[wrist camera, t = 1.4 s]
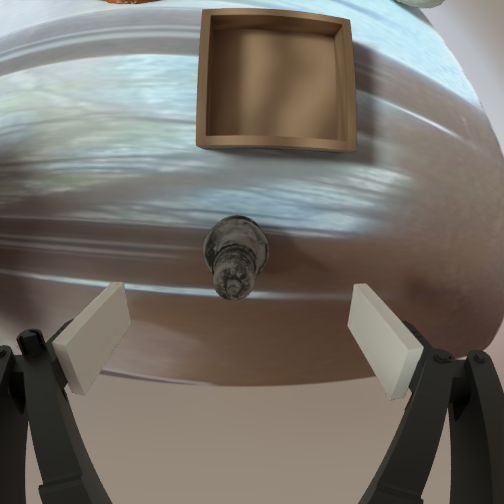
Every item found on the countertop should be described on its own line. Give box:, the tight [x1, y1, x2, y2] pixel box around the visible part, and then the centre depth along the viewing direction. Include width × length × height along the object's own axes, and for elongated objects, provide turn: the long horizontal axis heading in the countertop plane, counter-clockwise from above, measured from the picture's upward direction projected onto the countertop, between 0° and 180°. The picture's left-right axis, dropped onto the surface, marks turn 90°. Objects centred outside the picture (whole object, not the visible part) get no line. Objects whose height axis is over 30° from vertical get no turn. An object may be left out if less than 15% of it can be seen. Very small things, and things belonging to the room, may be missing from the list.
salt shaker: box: [203, 215, 269, 301], centre depth 23 cm, size 6×6×12 cm
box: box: [196, 8, 357, 153], centre depth 22 cm, size 14×14×4 cm
